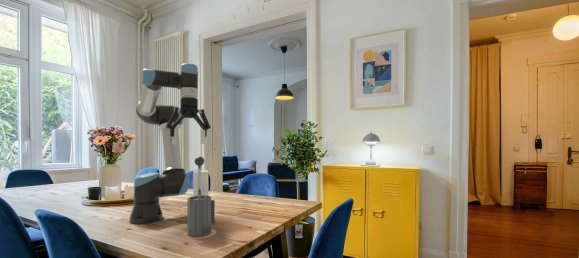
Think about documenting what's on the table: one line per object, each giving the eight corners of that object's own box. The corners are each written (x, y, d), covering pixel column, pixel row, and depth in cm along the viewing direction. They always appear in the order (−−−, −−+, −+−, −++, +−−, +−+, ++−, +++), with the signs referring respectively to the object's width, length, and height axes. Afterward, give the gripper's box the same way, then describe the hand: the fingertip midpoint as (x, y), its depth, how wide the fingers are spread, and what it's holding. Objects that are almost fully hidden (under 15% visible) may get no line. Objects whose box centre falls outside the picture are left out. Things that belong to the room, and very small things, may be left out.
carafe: (183, 233, 120) (183, 197, 121) (208, 227, 128) (208, 194, 129) (193, 238, 113) (193, 201, 114) (219, 232, 121) (219, 196, 122)
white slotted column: (204, 225, 134) (204, 172, 136) (190, 224, 136) (190, 171, 137) (211, 220, 141) (211, 170, 143) (198, 220, 143) (198, 170, 144)
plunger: (189, 201, 121) (189, 156, 122) (202, 199, 125) (202, 156, 126) (196, 203, 116) (196, 157, 117) (209, 201, 121) (209, 156, 122)
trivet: (176, 235, 120) (176, 233, 120) (206, 227, 130) (206, 226, 130) (190, 243, 110) (190, 241, 110) (222, 234, 120) (222, 233, 120)
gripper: (164, 94, 119) (164, 144, 118) (217, 99, 137) (217, 143, 136) (158, 96, 125) (157, 144, 124) (210, 101, 142) (210, 143, 141)
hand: (189, 144), depth 130 cm, fingers open, 13 cm apart
